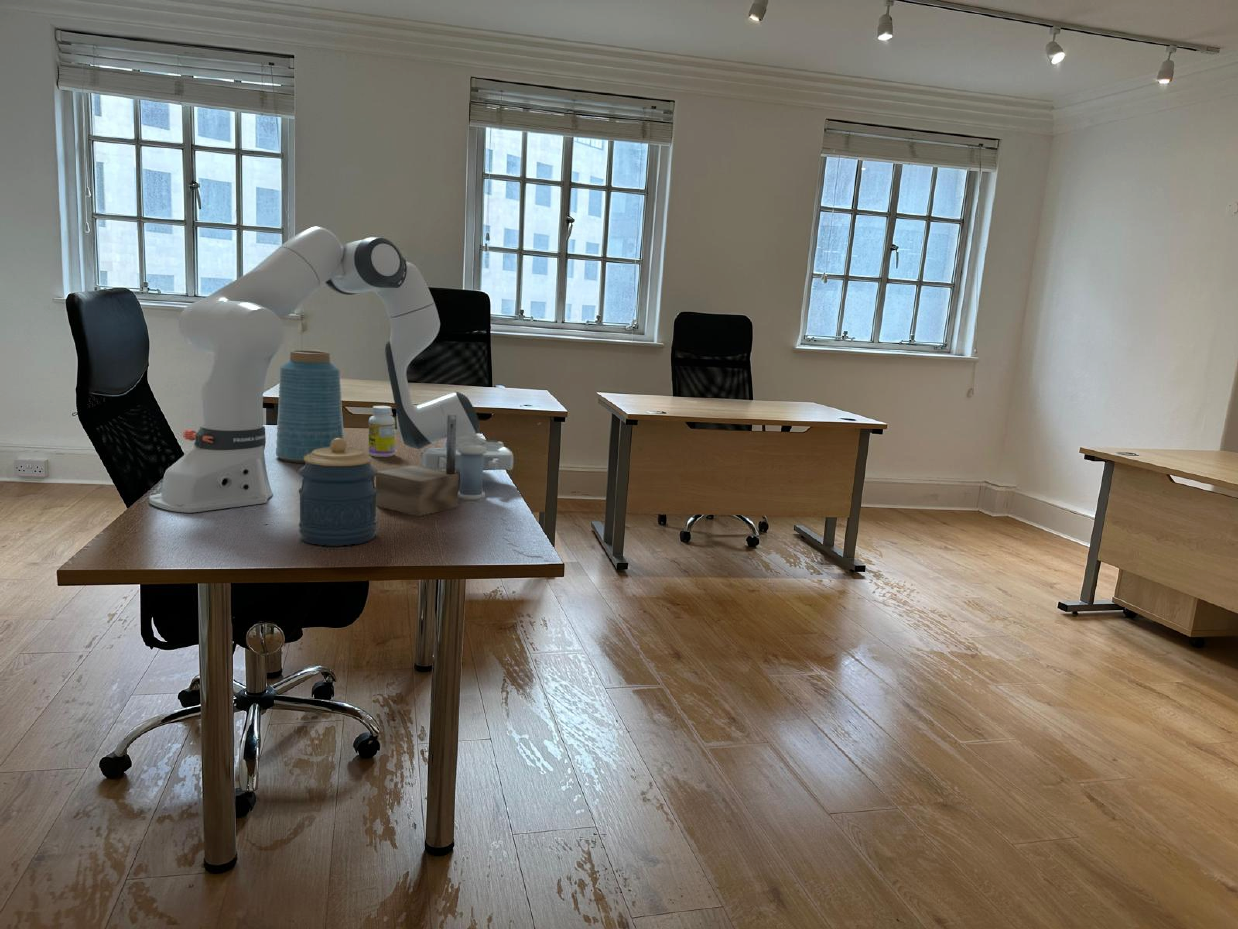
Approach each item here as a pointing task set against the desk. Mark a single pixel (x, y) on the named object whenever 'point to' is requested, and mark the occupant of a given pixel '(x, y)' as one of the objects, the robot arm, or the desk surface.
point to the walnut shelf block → (416, 490)
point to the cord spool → (471, 472)
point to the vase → (308, 405)
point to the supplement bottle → (381, 432)
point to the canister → (337, 496)
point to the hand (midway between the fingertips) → (470, 466)
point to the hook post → (451, 444)
